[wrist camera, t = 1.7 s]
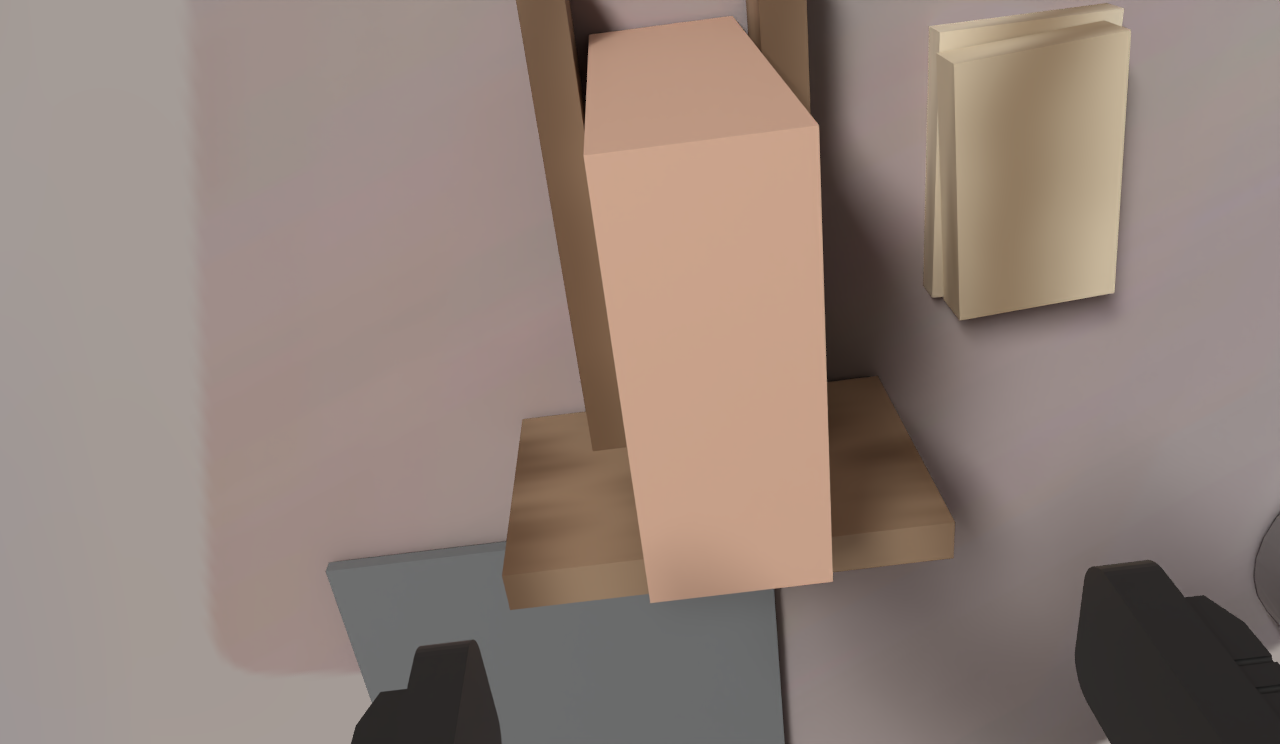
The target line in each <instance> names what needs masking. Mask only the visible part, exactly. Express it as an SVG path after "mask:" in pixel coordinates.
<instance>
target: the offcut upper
mask: <svg viewBox="0 0 1280 744" xmlns="http://www.w3.org/2000/svg"><path fill="white" fill-rule="evenodd" d="M1130 39H1131V30H1130V29H1127V28H1124V27H1121V26H1119V25H1116V24H1113V23H1110V22H1108V21H1105V20H1104V21H1099V22H1093V23H1088V24H1083V25H1078V26H1073V27H1068V28H1062V29H1057V30H1052V31H1047V32H1042V33H1037V34H1031V35H1026V36H1021V37H1016V38H1011V39H1006V40H1000V41H995V42H990V43H985V44H980V45H975V46H969V47H964V48H959V49H954V50H949V51H944V52H939V53H936V64H937V96H938V128H939V160H940V193H941V225H942V257H943V289H944V301H945V302H946V303H947V305H948V306H949V307H950V309H951V310H952V311H953V312H954V314H955V315H956V316H957V318H958V319H959V320H966V319H972V318H977V317H983V316H988V315H994V314H999V313H1005V312H1010V311H1016V310H1022V309H1027V308H1033V307H1038V306H1044V305H1049V304H1055V303H1060V302H1066V301H1072V300H1077V299H1083V298H1088V297H1094V296H1099V295H1105V294H1110V293H1114V291H1115V275H1116V260H1117V244H1118V228H1119V212H1120V197H1121V181H1122V165H1123V149H1124V134H1125V118H1126V102H1127V87H1128V71H1129V55H1130Z"/></svg>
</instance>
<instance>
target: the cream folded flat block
mask: <svg viewBox="0 0 1280 744" xmlns="http://www.w3.org/2000/svg"><path fill="white" fill-rule="evenodd" d="M1123 12H1124V8H1121V7H1117V6H1114V5H1111V4H1108V3H1105V4H1097V5H1089V6H1081V7H1074V8H1066V9H1058V10H1051V11H1043V12H1035V13H1028V14H1020V15H1012V16H1005V17H997V18H989V19H982V20H974V21H966V22H958V23H951V24H943V25H935V26H929V54H928V97H927V141H926V184H925V228H924V271H923V286H924V287H925V289H926V290H927V291H928V293H929V294H930V295H931V297H932V298H934V297H943V296H944V289H943V257H942V225H941V193H940V160H939V128H938V96H937V64H936V53H939V52H944V51H949V50H954V49H959V48H964V47H969V46H975V45H980V44H985V43H990V42H995V41H1000V40H1006V39H1011V38H1016V37H1021V36H1026V35H1031V34H1037V33H1042V32H1047V31H1052V30H1057V29H1062V28H1068V27H1073V26H1078V25H1083V24H1088V23H1093V22H1099V21H1104V20H1105V21H1108V22H1110V23H1113V24H1116V25H1119V26H1121V27H1122V21H1123Z"/></svg>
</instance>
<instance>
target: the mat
mask: <svg viewBox="0 0 1280 744" xmlns="http://www.w3.org/2000/svg"><path fill="white" fill-rule="evenodd" d="M505 549H506V542H497V543H489V544H480V545H472V546H464V547H455V548H447V549H438V550H430V551H422V552H413V553H405V554H397V555H388V556H380V557H371V558H363V559H355V560H346V561H338V562H330V563H329V564H328V567H327V569H326V574H327V577H328V579H329V582H330V585H331V588H332V591H333V594H334V596H335V599H336V602H337V605H338V608H339V611H340V613H341V616H342V619H343V622H344V625H345V628H346V631H347V633H348V636H349V639H350V642H351V645H352V648H353V650H354V653H355V656H356V659H357V662H358V665H359V667H360V670H361V673H362V676H363V679H364V682H365V684H366V687H367V690H368V693H369V696H370V698H371V701H372V703H373V701H374V700H375V699H376V697H377V696H378V694H379V693H380V692H384V691H392V690H401V689H407V686H408V682H409V677H410V673H411V668H412V664H413V659H414V655H415V652H416V650H417V648H418V647H419V646H424V645H432V644H441V643H449V642H457V641H465V640H475V641H476V642H477V644H478V646H479V649H480V652H481V656H482V659H483V663H484V667H485V670H486V674H487V678H488V682H489V685H490V689H491V693H492V696H493V700H494V704H495V707H496V711H497V715H498V719H499V724H500V730H501V739H502V744H785V742H784V728H783V713H782V698H781V684H780V669H779V655H778V640H777V626H776V611H775V597H774V589H766V590H758V591H749V592H741V593H732V594H724V595H715V596H707V597H698V598H690V599H681V600H673V601H664V602H656V603H650V597H649V594H643V595H635V596H626V597H618V598H609V599H601V600H592V601H584V602H575V603H567V604H558V605H550V606H541V607H533V608H524V609H516V610H510V608H509V603H508V599H507V595H506V591H505V587H504V583H503V579H502V571H503V564H504V556H505Z"/></svg>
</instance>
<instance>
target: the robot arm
mask: <svg viewBox="0 0 1280 744" xmlns="http://www.w3.org/2000/svg"><path fill="white" fill-rule="evenodd" d="M1254 578H1255V583H1256V588H1257V593H1258V596H1259V598H1260V600H1261V601H1262V603H1263V605H1264V607H1265V608H1266V610H1267V611H1268V612H1269V613H1270V614H1271V616H1272V617H1273V618H1274V619H1275V620H1276V621H1277V622H1278V624H1279V625H1280V514H1279V516H1278V517H1277V518H1276V519H1275V521H1274V523H1273V524H1272V526H1271V527H1270V529H1269V531H1268V532H1267V534H1266V535H1265V537H1264V539H1263V542H1262V544H1261V547H1260V550H1259V553H1258V555H1257V558H1256V567H1255V577H1254ZM1075 664H1076V671H1077V676H1078V680H1079V683H1080V687H1081V689H1082V692H1083V694H1084V697H1085V699H1086V701H1087V703H1088V705H1089V706H1090V708H1091V710H1092V712H1093V713H1094V715H1095V717H1096V719H1097V720H1098V722H1099V724H1100V726H1101V727H1102V729H1103V731H1104V733H1105V734H1106V736H1107V738H1108V740H1109V741H1110V743H1111V744H1280V665H1279V664H1278V662H1273V660H1272V655H1271V654H1270V653H1269V651H1268V650H1267V649H1266V648H1265V647H1264V645H1263V644H1262V643H1261V642H1260V641H1259V639H1258V638H1257V637H1256V636H1255V635H1254V634H1253V632H1252V631H1251V630H1250V629H1249V628H1248V626H1247V625H1246V624H1245V623H1244V622H1243V621H1241V620H1240V619H1238V618H1237V617H1235V616H1234V615H1232V614H1231V613H1229V612H1228V611H1226V610H1225V609H1223V608H1222V607H1220V606H1219V605H1217V604H1216V603H1214V602H1213V601H1211V600H1210V599H1208V598H1207V597H1205V596H1204V595H1202V596H1194V597H1186V598H1185V597H1184V596H1183V595H1182V593H1181V592H1180V591H1179V590H1178V588H1177V587H1176V586H1175V585H1174V583H1173V582H1172V581H1171V579H1170V578H1169V577H1168V576H1167V574H1166V573H1165V572H1164V571H1163V569H1162V568H1161V567H1160V566H1159V565H1158V564H1157V563H1155V562H1153V561H1151V560H1144V561H1136V562H1128V563H1119V564H1111V565H1103V566H1094V567H1091V568H1089V569H1088V571H1087V572H1086V575H1085V579H1084V586H1083V594H1082V602H1081V610H1080V617H1079V625H1078V633H1077V640H1076V648H1075ZM351 744H502V739H501V730H500V724H499V719H498V715H497V711H496V707H495V704H494V700H493V696H492V693H491V689H490V685H489V682H488V678H487V674H486V670H485V667H484V663H483V659H482V656H481V652H480V649H479V646H478V644H477V642H476V641H475V640H465V641H457V642H449V643H441V644H432V645H424V646H419V647H418V648H417V650H416V652H415V655H414V659H413V664H412V668H411V673H410V677H409V682H408V686H407V689H401V690H392V691H384V692H380V693H379V694H378V696H377V697H376V699H375V700H374V701H373V703H372V704H371V706H370V707H369V708H368V710H367V711H366V712H365V714H364V715H363V717H362V718H361V719H360V721H359V722H358V724H357V725H356V727H355V731H354V735H353V739H352V742H351Z"/></svg>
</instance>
